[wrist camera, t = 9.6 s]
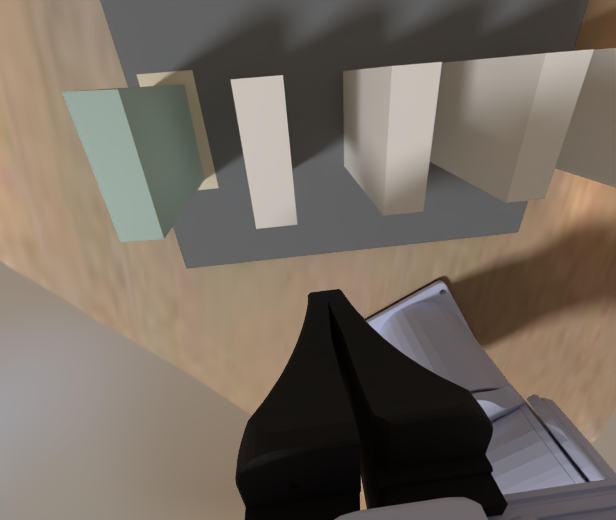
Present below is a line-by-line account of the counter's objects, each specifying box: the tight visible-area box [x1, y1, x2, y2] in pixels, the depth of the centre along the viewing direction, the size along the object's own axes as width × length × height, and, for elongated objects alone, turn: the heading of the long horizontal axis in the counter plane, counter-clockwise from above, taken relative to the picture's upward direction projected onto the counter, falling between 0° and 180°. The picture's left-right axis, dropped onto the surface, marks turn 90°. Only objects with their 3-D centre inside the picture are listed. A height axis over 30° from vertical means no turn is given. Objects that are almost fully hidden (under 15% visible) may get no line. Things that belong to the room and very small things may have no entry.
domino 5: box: [555, 48, 616, 187], centre depth 15 cm, size 2×5×8 cm, turn 4°
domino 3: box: [343, 62, 442, 216], centre depth 14 cm, size 2×5×8 cm, turn 5°
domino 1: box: [62, 85, 205, 242], centre depth 14 cm, size 2×5×8 cm, turn 3°
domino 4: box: [430, 49, 594, 203], centre depth 15 cm, size 2×5×8 cm, turn 5°
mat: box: [100, 0, 588, 268], centre depth 18 cm, size 24×17×1 cm
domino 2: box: [230, 75, 297, 229], centre depth 14 cm, size 2×5×8 cm, turn 4°
